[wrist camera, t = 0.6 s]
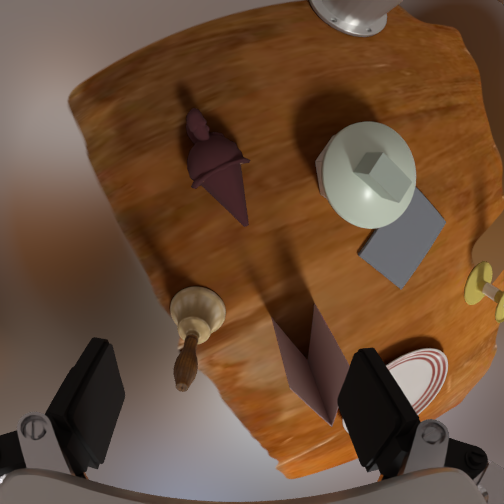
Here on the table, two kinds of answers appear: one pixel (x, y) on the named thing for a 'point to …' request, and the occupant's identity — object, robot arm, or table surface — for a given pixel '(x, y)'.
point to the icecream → (216, 166)
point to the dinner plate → (419, 376)
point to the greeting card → (315, 368)
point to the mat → (404, 241)
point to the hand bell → (194, 327)
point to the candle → (484, 289)
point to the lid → (368, 174)
